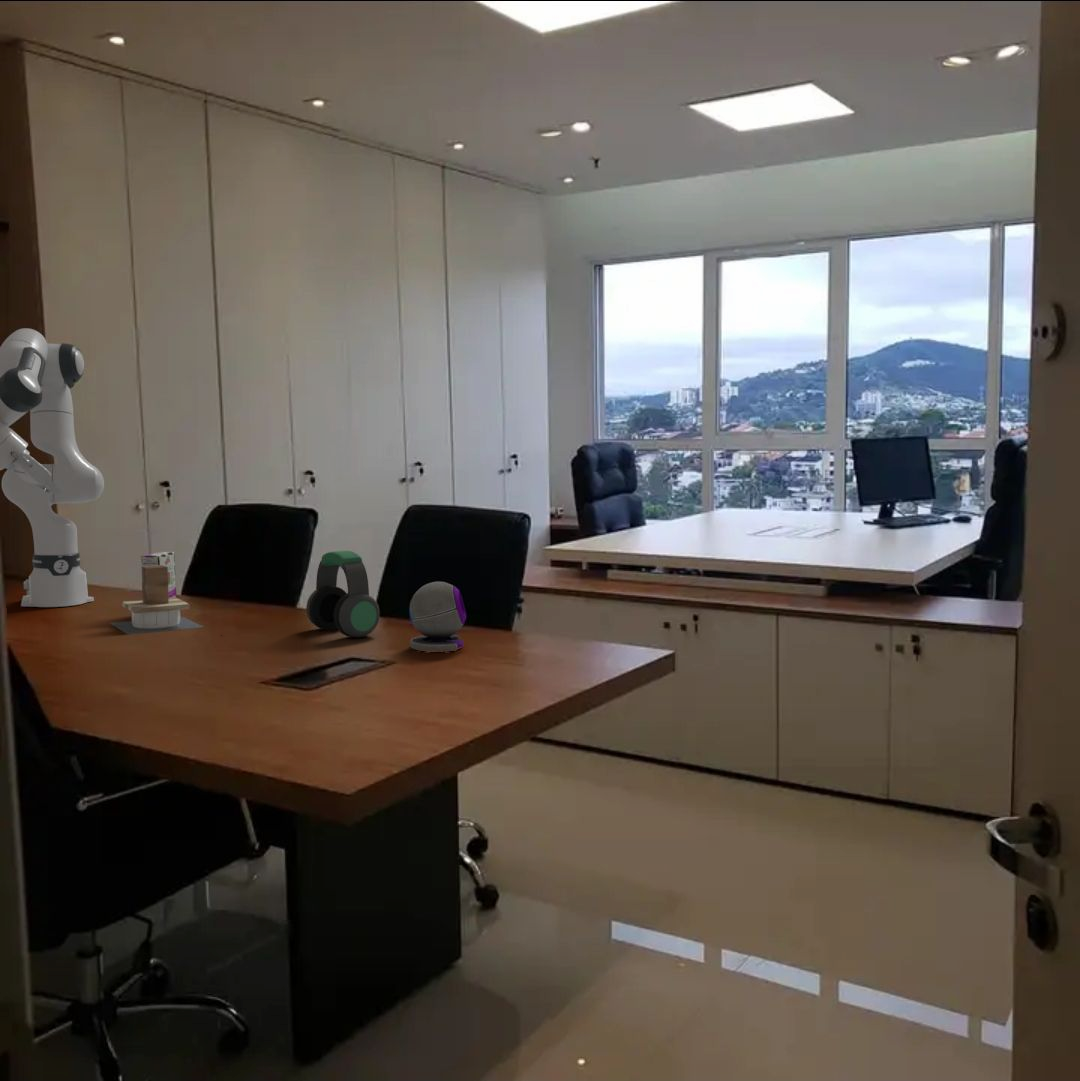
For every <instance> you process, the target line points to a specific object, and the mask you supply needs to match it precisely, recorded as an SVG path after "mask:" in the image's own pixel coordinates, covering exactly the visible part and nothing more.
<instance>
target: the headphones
mask: <svg viewBox="0 0 1080 1081" xmlns="http://www.w3.org/2000/svg"><path fill="white" fill-rule="evenodd" d="M340 568H341V569H342V570H343V573H344V576H345V580H346V584H347V586H346V587H347V592H346V591H345V590H344V589H343V588H341V587H338V585H337V583H338V582H337V580H338V573H339V570H340ZM315 583H316V584H315V585H316V586H315V587H316V588H315V590H314V591H312V593H311V594H310V595H309V597H308V599H307V602H306V609H305V610H306V614H307V618H308V619H309V621H310V622H311V623H312V624H313V625H314V626H315V627H317V628H319V629H321V630H323V631H328V630H331V631H335V630H338V631H339V633H341V634H342V635H343V636H346V637H349V638H363V637H366V636H368V635H370V634H372V632H374V630H375V629H376V627H377V626H378V624H379V621H380V614H381V613H380V606H379V604H378V602H377V600H375V598H374V597H372V596H371V595H370V589H369V579H368V573H367V571H366V566H365V564H364V562H363V559H362V557H361V556H360V555H359V554H358V553H357V552H354V551H350V550H339V551H329V552H326V553H325V554H323V555H322V556H321V560H320V562H319V565H318V568H317V572H316V582H315Z"/></svg>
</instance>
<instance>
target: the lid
mask: <svg viewBox="0 0 1080 1081" xmlns="http://www.w3.org/2000/svg"><path fill="white" fill-rule="evenodd" d="M141 586H142V587H141V588H142V589H141V591H142V592H141V593H142V595H141V596H142V598H141V599H134V600H122V601H121V606H122V607H123V608H124V609H127V610H128V611H130V612H131V613H132V612H133V613H147V612H159V611H171V610H180V611H181V610H183V611H184V610H190V609H191V608H190V606H191V605H190V603H188V602H186V601H184V600H182V599H180V598H176V597H172V598H168V567H166V566H164V565H154V566H142V565H141Z"/></svg>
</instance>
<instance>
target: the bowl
mask: <svg viewBox="0 0 1080 1081" xmlns="http://www.w3.org/2000/svg"><path fill="white" fill-rule="evenodd" d="M180 617H181V610H171V611H159V612H147V613H133V612H131V621H132V623H133V627H134V628H139V629H161V628H170V627H175V626H178V625H179V624H180Z"/></svg>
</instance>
